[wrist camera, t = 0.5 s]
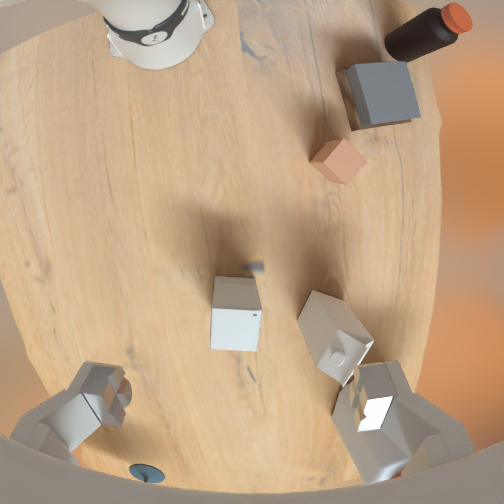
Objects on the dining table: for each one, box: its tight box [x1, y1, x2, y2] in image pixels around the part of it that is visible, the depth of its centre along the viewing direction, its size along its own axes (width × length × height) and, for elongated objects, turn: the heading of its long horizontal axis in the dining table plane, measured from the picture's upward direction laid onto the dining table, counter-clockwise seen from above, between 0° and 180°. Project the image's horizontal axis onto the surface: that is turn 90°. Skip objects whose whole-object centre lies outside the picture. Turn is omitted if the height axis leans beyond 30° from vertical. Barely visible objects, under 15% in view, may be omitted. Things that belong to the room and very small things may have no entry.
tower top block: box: [346, 61, 421, 126], centre depth 43 cm, size 10×10×4 cm
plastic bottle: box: [332, 382, 411, 484], centre depth 54 cm, size 15×15×28 cm
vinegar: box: [385, 3, 472, 63], centre depth 36 cm, size 7×7×20 cm
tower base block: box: [336, 67, 411, 131], centre depth 47 cm, size 11×11×4 cm
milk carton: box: [297, 290, 374, 387], centre depth 50 cm, size 7×7×19 cm
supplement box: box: [210, 276, 262, 351], centre depth 50 cm, size 7×7×13 cm
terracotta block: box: [309, 138, 367, 185], centre depth 47 cm, size 5×5×8 cm
